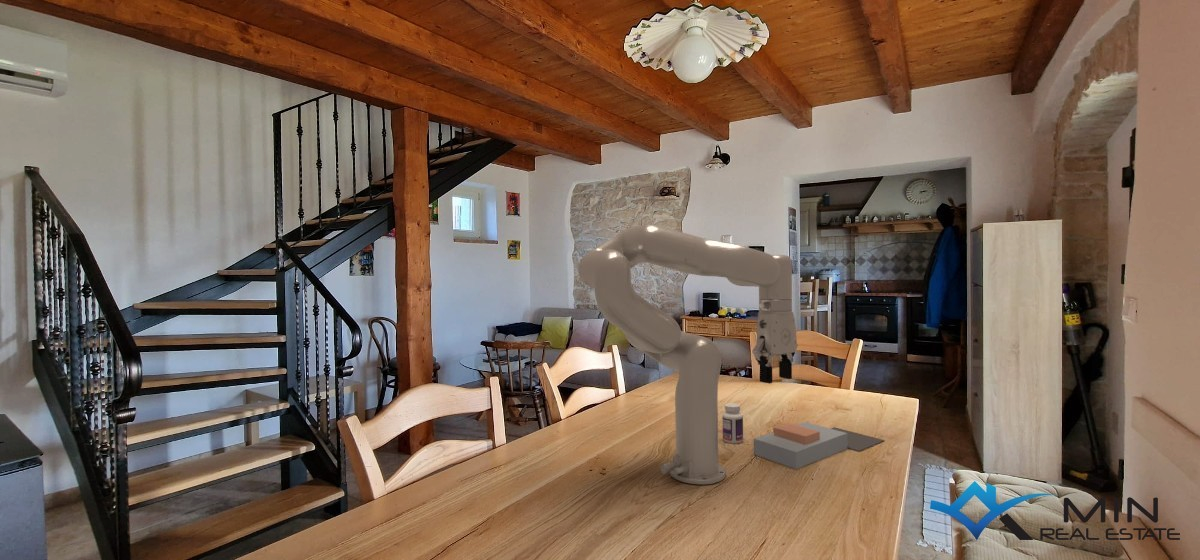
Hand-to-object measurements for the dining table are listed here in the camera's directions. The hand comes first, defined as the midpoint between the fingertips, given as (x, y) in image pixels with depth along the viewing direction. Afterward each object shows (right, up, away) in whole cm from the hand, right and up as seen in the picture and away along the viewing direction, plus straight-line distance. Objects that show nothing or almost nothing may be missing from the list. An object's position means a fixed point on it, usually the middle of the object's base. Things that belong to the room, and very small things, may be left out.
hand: (775, 379), depth 124 cm
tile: (+7, -15, +5) cm, 18 cm away
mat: (+24, -19, +15) cm, 34 cm away
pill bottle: (-6, -20, +15) cm, 26 cm away
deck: (+8, -19, +6) cm, 22 cm away
